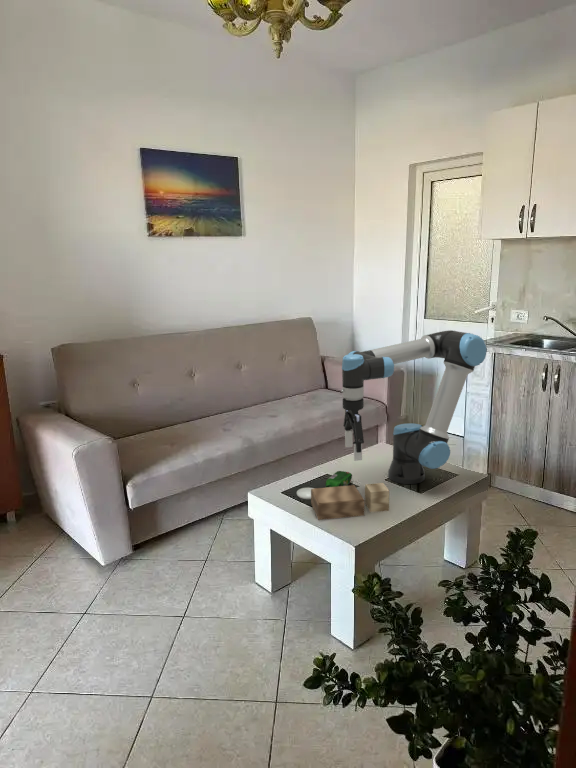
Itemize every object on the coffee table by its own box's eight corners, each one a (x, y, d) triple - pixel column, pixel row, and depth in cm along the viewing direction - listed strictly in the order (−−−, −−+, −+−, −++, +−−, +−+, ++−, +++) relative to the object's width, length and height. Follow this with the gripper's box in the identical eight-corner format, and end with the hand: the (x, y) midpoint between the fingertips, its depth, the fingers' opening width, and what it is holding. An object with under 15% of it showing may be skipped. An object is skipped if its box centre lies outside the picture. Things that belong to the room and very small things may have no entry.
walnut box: (354, 499, 204) (354, 484, 203) (364, 515, 192) (364, 499, 190) (311, 503, 202) (310, 488, 200) (318, 519, 189) (318, 503, 188)
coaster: (316, 488, 215) (316, 486, 215) (321, 498, 206) (321, 496, 206) (295, 490, 213) (294, 488, 213) (298, 500, 205) (298, 498, 205)
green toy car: (322, 493, 211) (322, 480, 210) (338, 478, 224) (339, 467, 223) (338, 496, 208) (338, 484, 206) (354, 481, 221) (354, 470, 220)
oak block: (382, 502, 202) (383, 482, 200) (388, 510, 195) (389, 490, 193) (364, 504, 201) (365, 484, 199) (370, 512, 194) (370, 492, 192)
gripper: (335, 390, 202) (336, 442, 207) (351, 408, 177) (351, 467, 183) (354, 388, 202) (354, 441, 207) (373, 406, 178) (372, 465, 183)
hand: (353, 453), depth 195 cm, fingers open, 13 cm apart
